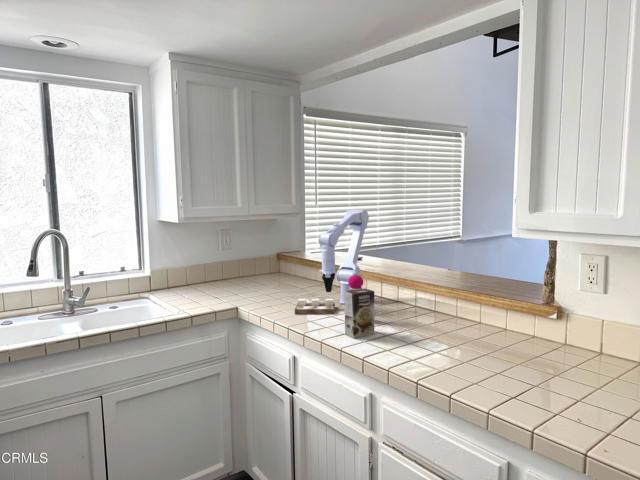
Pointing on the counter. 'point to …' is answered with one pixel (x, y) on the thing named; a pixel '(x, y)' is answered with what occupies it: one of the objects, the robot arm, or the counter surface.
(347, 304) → the coffee box
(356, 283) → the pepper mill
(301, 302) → the button
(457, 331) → the counter surface
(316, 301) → the middle button
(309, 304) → the button board
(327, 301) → the button
